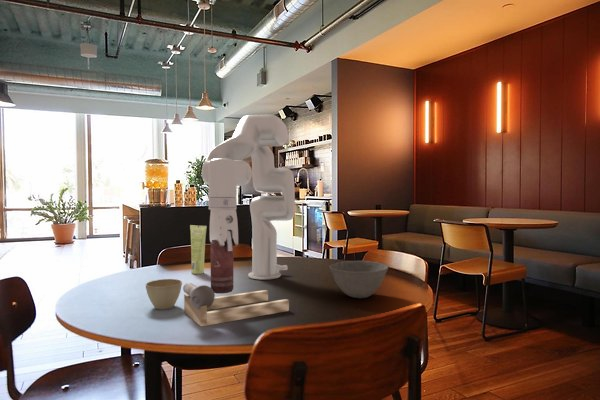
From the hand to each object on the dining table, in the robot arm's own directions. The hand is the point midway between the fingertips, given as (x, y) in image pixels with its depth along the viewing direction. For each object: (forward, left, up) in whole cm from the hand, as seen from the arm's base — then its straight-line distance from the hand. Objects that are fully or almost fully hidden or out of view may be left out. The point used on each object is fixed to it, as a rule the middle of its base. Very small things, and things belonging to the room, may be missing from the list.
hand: (222, 270), depth 112 cm
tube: (-12, -57, -12) cm, 60 cm away
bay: (-3, +1, -12) cm, 12 cm away
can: (0, 0, -6) cm, 6 cm away
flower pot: (+12, -15, -12) cm, 23 cm away
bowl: (-44, +5, -12) cm, 46 cm away
